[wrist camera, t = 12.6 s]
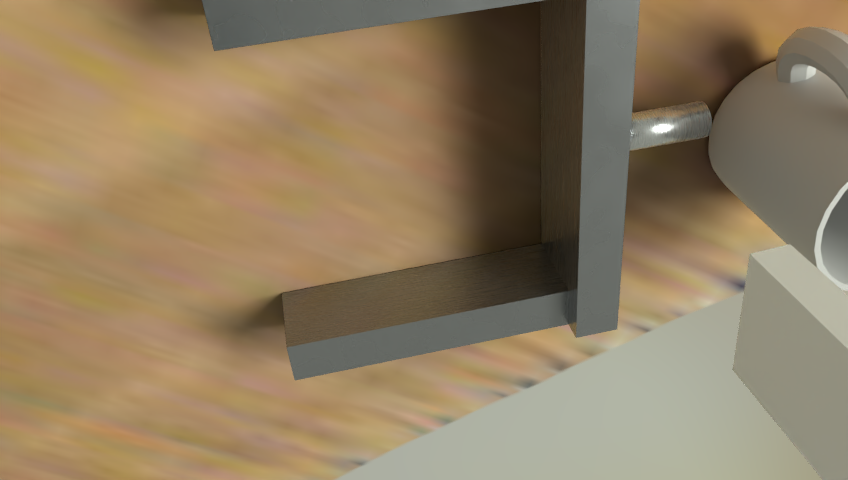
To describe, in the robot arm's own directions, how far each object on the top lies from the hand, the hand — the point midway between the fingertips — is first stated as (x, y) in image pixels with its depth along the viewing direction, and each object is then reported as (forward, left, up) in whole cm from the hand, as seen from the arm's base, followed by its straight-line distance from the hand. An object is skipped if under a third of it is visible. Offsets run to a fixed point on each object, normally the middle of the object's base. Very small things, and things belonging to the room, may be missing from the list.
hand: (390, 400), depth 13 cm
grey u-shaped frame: (+7, -6, -21) cm, 23 cm away
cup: (+21, -7, -22) cm, 31 cm away
